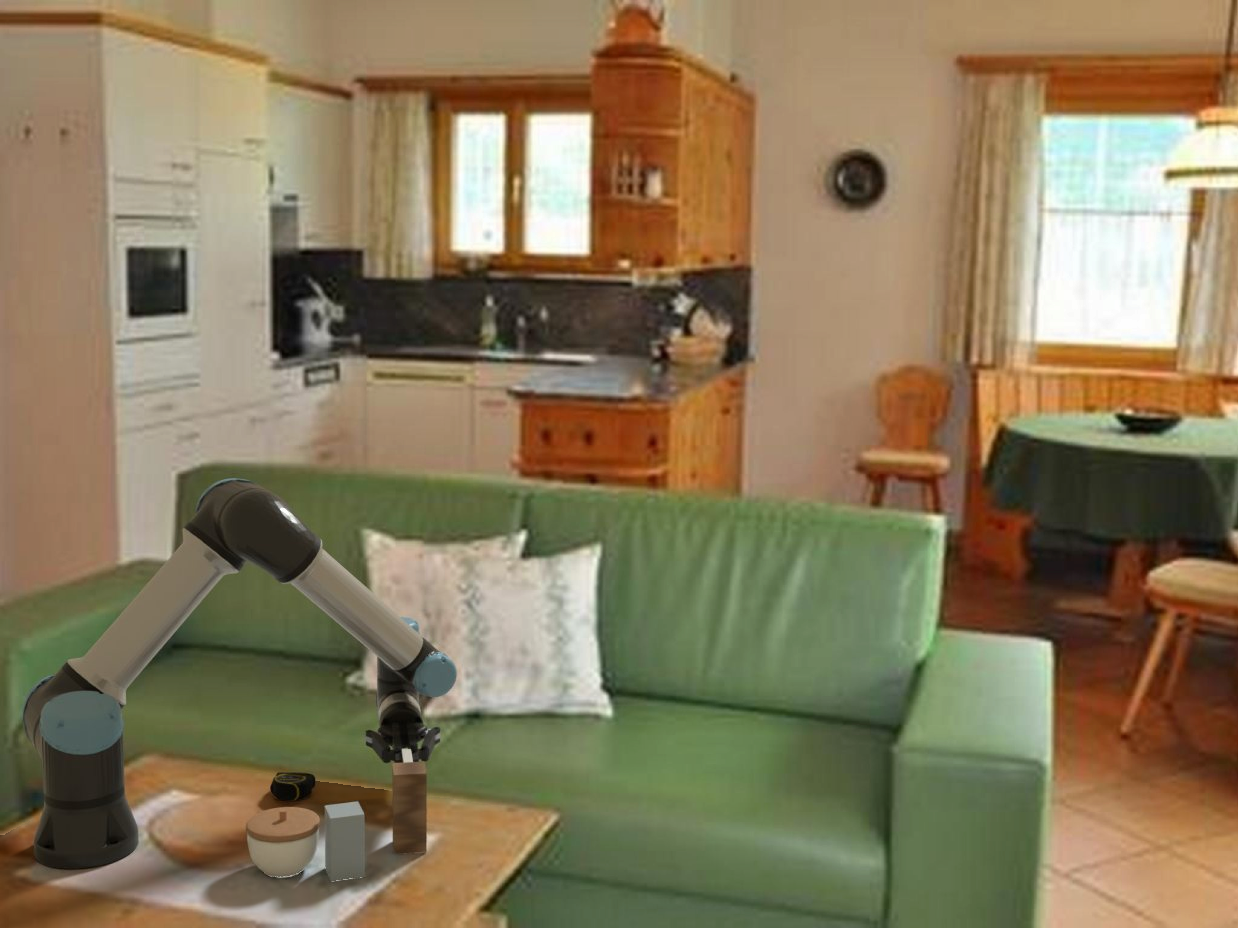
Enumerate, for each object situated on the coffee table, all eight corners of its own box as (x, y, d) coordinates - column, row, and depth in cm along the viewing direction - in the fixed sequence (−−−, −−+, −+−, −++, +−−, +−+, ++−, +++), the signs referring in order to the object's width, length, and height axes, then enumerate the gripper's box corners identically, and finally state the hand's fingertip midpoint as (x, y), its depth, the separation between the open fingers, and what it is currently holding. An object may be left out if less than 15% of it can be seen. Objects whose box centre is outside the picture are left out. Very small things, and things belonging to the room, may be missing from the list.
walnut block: (394, 854, 218) (393, 774, 216) (392, 841, 223) (392, 762, 221) (426, 852, 219) (426, 773, 217) (424, 839, 224) (424, 761, 222)
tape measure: (317, 790, 242) (316, 769, 242) (306, 806, 236) (306, 785, 235) (277, 789, 243) (277, 768, 242) (266, 804, 236) (265, 783, 235)
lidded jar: (302, 889, 206) (301, 828, 205) (234, 880, 208) (233, 820, 207) (331, 858, 216) (330, 800, 215) (266, 850, 219) (265, 793, 217)
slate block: (331, 882, 208) (330, 818, 207) (325, 867, 213) (324, 805, 211) (364, 877, 210) (364, 813, 209) (358, 863, 215) (357, 801, 213)
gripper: (437, 739, 250) (449, 791, 227) (363, 743, 247) (367, 796, 225) (438, 699, 249) (449, 747, 226) (363, 702, 246) (367, 751, 223)
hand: (408, 771), depth 225 cm, fingers closed
